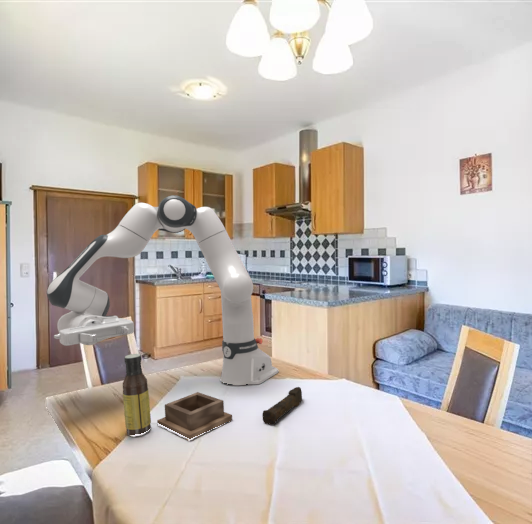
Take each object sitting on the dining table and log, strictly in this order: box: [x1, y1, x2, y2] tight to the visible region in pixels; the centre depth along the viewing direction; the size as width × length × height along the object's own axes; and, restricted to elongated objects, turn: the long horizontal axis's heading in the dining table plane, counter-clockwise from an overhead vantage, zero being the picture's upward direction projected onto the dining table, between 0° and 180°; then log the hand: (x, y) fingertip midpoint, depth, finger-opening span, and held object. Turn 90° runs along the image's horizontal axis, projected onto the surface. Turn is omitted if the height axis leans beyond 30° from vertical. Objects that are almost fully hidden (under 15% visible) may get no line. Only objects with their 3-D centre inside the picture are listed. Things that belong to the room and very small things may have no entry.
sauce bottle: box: [122, 353, 152, 436], centre depth 95 cm, size 6×6×20 cm
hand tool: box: [262, 386, 303, 426], centre depth 104 cm, size 19×4×5 cm, turn 145°
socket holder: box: [156, 391, 233, 439], centre depth 99 cm, size 14×14×6 cm
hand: (110, 334), depth 103 cm, fingers open, 8 cm apart
